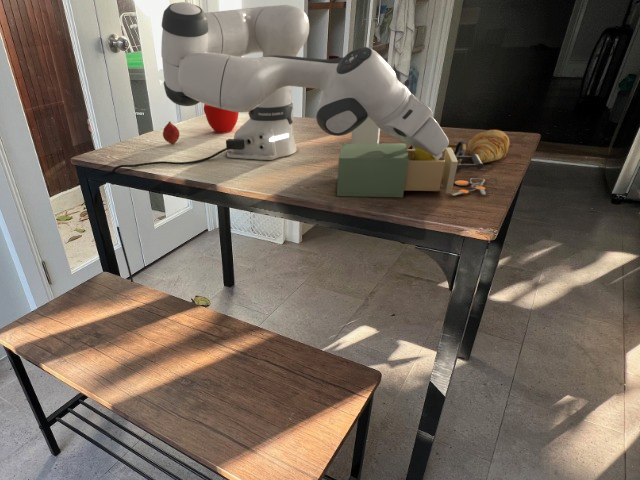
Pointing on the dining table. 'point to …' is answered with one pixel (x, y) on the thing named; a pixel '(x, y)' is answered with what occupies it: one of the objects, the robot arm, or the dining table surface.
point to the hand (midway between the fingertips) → (429, 152)
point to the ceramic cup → (220, 118)
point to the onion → (171, 133)
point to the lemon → (422, 155)
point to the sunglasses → (458, 152)
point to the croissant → (489, 145)
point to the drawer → (435, 171)
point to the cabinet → (372, 170)
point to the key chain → (474, 185)
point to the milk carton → (366, 133)
